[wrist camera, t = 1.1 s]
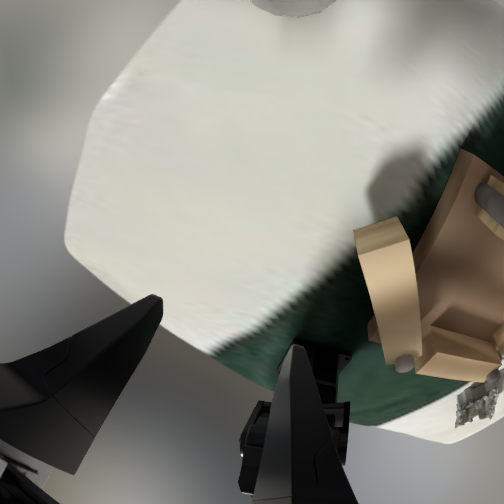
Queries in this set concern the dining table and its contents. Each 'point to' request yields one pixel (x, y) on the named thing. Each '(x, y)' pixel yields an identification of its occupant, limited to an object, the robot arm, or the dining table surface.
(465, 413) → the grey jagged rock
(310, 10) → the salt shaker
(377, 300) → the hinged leg
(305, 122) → the dining table surface
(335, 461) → the robot arm
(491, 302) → the wooden slat frame
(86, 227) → the dining table surface
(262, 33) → the dining table surface
